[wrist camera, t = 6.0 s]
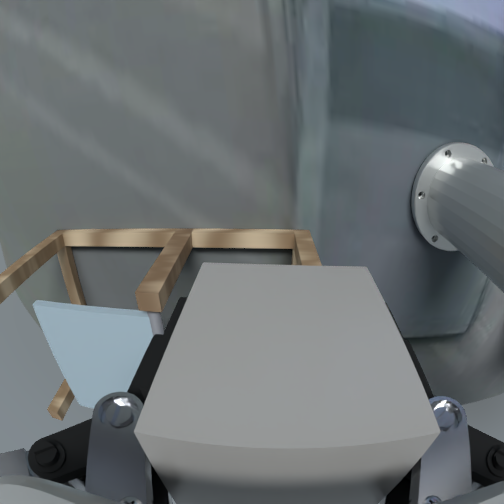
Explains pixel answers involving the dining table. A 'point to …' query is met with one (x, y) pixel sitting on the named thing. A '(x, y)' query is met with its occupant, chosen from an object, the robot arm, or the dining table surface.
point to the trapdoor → (97, 345)
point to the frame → (160, 274)
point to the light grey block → (285, 391)
